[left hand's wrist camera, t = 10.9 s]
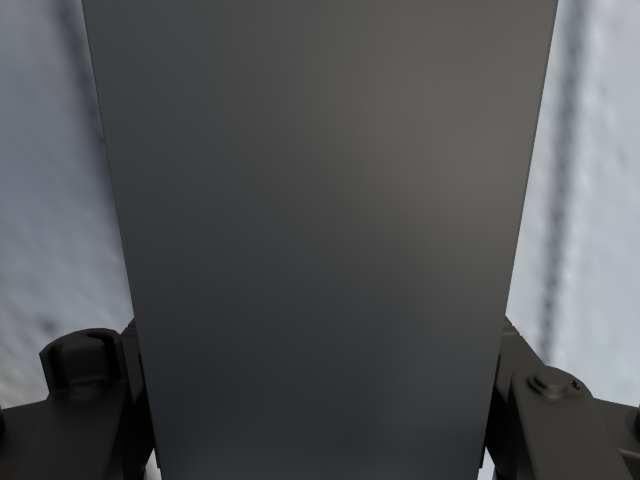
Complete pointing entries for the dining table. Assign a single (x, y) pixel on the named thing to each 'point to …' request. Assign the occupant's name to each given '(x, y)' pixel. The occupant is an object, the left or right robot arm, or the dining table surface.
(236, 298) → the post
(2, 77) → the dining table surface
